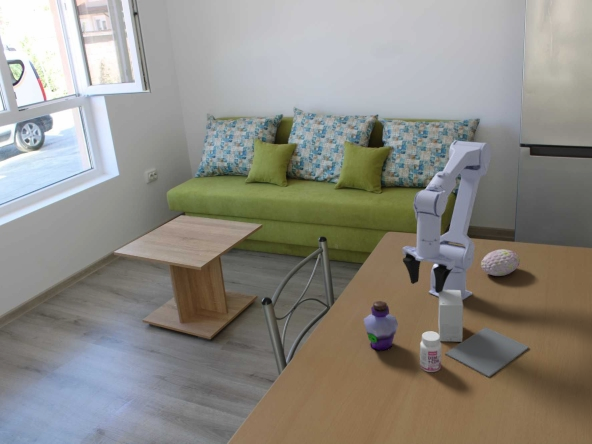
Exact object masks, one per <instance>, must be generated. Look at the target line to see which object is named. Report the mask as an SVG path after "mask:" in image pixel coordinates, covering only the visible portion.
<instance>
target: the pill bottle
mask: <svg viewBox="0 0 592 444" xmlns="http://www.w3.org/2000/svg"><path fill="white" fill-rule="evenodd" d="M419 347H420V348H419V349H420V350H419V359H420V360H419V365H420V366H419V367H420V368H421V369H422V370H423V371H425V372H428V373H434V372H438V371H439V370H440V369H441V367H442V343H441V341H440V335H439V332H436V331H431V330H429V331H425V332H423V333H422V334H421V341H420V343H419Z"/></svg>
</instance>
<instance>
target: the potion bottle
mask: <svg viewBox="0 0 592 444" xmlns="http://www.w3.org/2000/svg"><path fill="white" fill-rule="evenodd" d="M370 311H371V313H370V314H369V315H367V316H366V317H364V318H363V323H364V327H365V331H366V334H367V338H368V340H369V341H370V347H371V349H372V350H375V351H377V352H386V351H387V352H388V351H389V350H390V349H391V348H392V347H393V342H394V337H395V335H396V333H397V329H398V326H399V323H398V321H397V317H396V315H392V314H390V309H389V306H388V304H387V302H385V301H383V300H377V301H374V302H373V303H372V306H371V307H370Z"/></svg>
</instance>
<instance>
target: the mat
mask: <svg viewBox="0 0 592 444" xmlns="http://www.w3.org/2000/svg"><path fill="white" fill-rule="evenodd" d="M529 349H530V347H529V345H526V344H524V343H522V342H519V341H518V340H515V339H514V338H510V337H509V336H506V335H504V334H502V333H500V332H497V331H495V330H493V329H491V328H488V327H487V326H485V327H484V328H482V329H480V330H478V331H477V332H476V333H474V334H473V335H471V336H469V337H468V338H466V339H465V340H464V341H463V340H462V342H460V343H459V344H458V345H456V346H454V347H452V348H451V349H450V350H448V351H446V352H445V353H444V354H445V356H447V357H449V358H451V359H452V360H454V361H456V362H458V363H460V364H462V365H464V366H466V367H468V368H469V369H472V370H474V371H476V372H477V373H480V374H481V375H483V376H486V377H487V378H491V377H492V376H493V375H495V374H496V373H498V371H500V370H501V369H503V368H504V367H505V366H507V365H508V364H509V363H511V362H512V361H513V360H515V359H516V358H517V357H519V356H520V355H521V354H524V352H526V351H528V350H529Z"/></svg>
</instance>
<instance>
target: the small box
mask: <svg viewBox="0 0 592 444" xmlns="http://www.w3.org/2000/svg"><path fill="white" fill-rule="evenodd" d="M463 301H464V300H462V295H461V290H443V291H441V292H439V297H438V316H437V317H438V318H437V319H438V320H437V321H438V323H437V324H438V334H439V335H440V342H455V343H458V342H460V343H462V342H463V332H464V330H463V328H464V327H463V326H464V323H463V321H464V302H463Z"/></svg>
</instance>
